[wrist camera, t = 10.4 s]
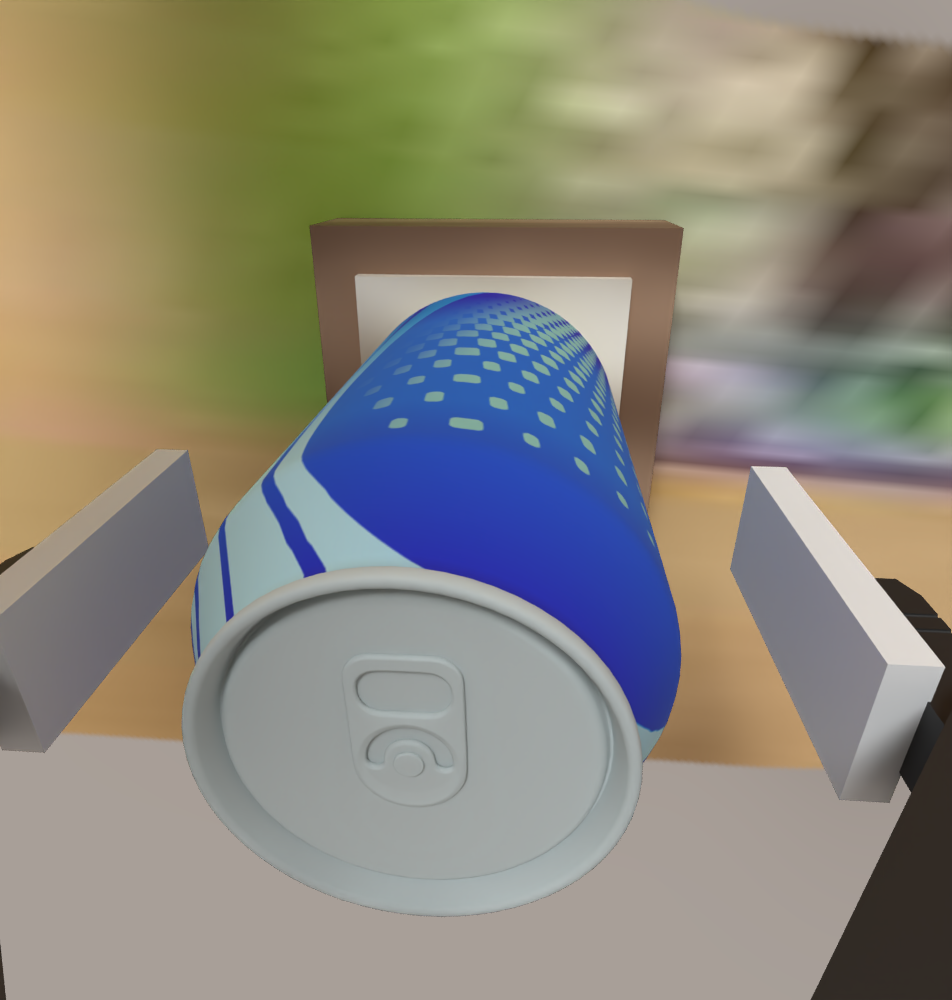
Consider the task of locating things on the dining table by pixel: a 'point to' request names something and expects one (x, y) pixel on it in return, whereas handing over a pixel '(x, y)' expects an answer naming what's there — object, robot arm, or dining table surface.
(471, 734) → the beer can
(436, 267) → the base slab
